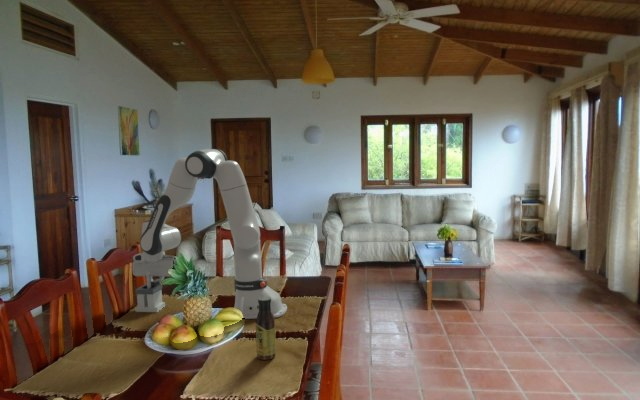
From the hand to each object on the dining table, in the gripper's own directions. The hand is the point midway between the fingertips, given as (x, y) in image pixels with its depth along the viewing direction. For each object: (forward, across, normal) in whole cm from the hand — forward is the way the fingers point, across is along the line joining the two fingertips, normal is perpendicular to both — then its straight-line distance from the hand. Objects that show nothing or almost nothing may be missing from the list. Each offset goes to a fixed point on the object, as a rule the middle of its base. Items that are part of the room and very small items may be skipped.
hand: (156, 285), depth 203 cm
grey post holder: (+9, 0, +6) cm, 11 cm away
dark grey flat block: (+1, 0, +4) cm, 4 cm away
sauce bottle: (+9, -63, +48) cm, 79 cm away
